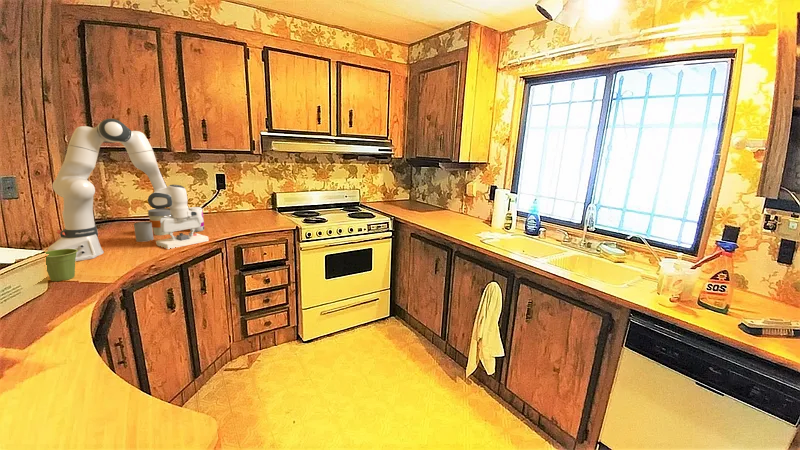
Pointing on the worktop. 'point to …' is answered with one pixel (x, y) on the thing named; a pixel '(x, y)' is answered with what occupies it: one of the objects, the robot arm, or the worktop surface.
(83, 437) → the worktop surface
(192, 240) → the socket plate
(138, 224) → the cup
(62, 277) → the plant pot
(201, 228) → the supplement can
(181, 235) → the plug
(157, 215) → the reusable coffee cup
